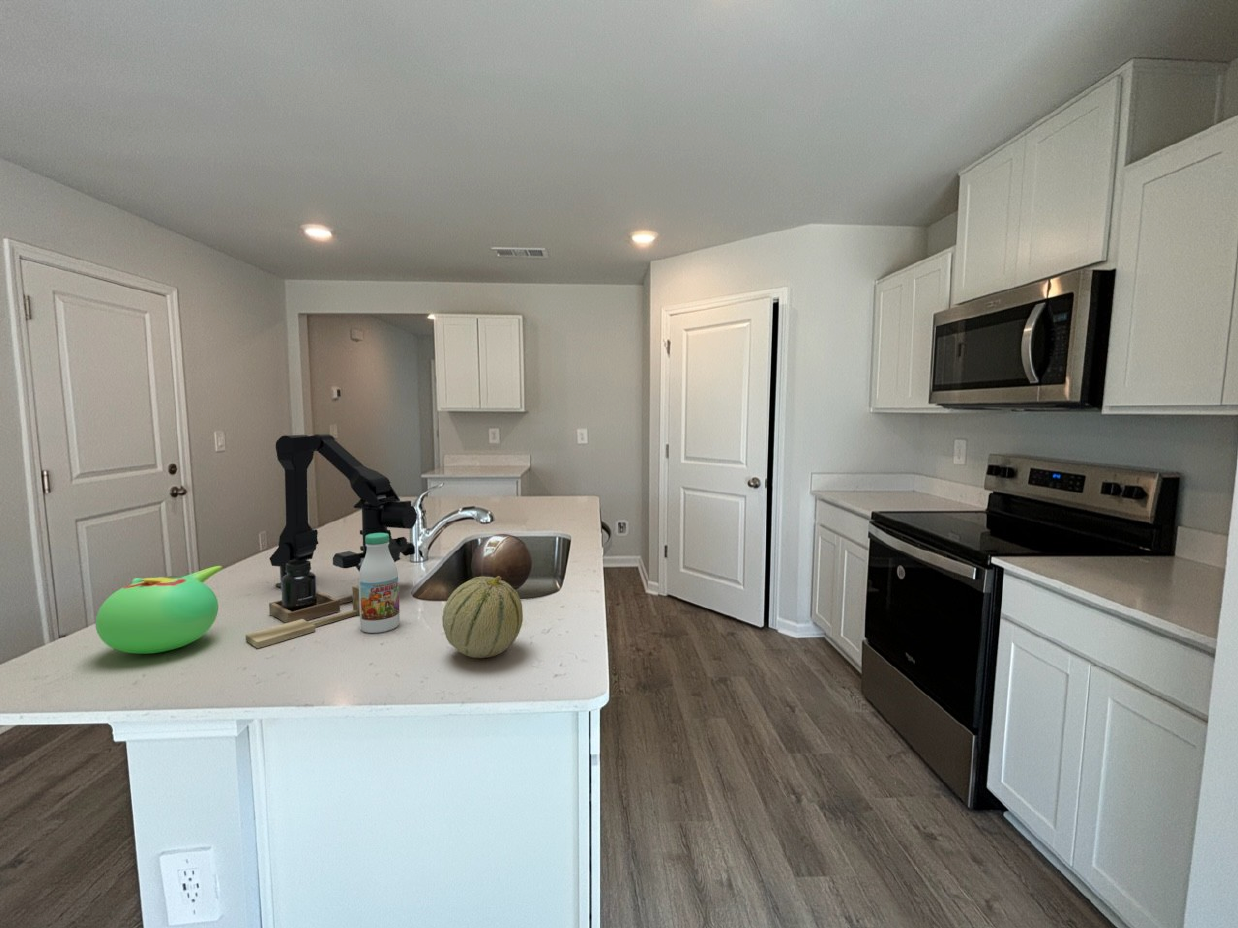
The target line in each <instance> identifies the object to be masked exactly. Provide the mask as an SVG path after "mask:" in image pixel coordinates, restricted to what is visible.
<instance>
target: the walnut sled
mask: <svg viewBox="0 0 1238 928" xmlns="http://www.w3.org/2000/svg"><path fill="white" fill-rule="evenodd" d="M350 602H353V594H352V595H349V596H346V597H342V598H338V599H337V598H335V597H332V596H330V595H329V594H326V593H324V592H321V591H319V590H318V591H317V605H316V606H312V607H308V608H304V609H300V610H296V611H293V612H291V611H289V610H287V609H285V608H283V607H282V599H281V600H277V601H272V602H268V608H269V615H271V616H272V617H275V618H276V619H278V620H280V621H282V622H283V623H284V624H285V623H289V622H293V621H296V620H300V619H304V620H306V621H309V620H313V619H317V618H320V617H324V616H327V615H330V614H335V613H337V612H341V605H342V604H346V603H350Z"/></svg>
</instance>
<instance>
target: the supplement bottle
mask: <svg viewBox="0 0 1238 928" xmlns="http://www.w3.org/2000/svg"><path fill="white" fill-rule="evenodd" d="M311 564H312V563H311V561H310V560H299V561H292V562H289V563H287V564H286V573H287V575H285V576H284V577H283V578H282V580H280V583H281V588H280V589H281V591H280V592H281V593H280V594H281V600H282V607H283V608H285V609H287V610H289V611H291V612H293V611H296V610H300V609H304V608H308V607H312V606H316V605H318V603H317V575H316V574H315V573H314V572H312V571H311V570H312V567H311Z"/></svg>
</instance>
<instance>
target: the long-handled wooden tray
mask: <svg viewBox="0 0 1238 928" xmlns="http://www.w3.org/2000/svg"><path fill="white" fill-rule="evenodd" d="M351 588H352V589H351V590H352V595H353V601H352V610H349V611H345V612H342V613H338V614H335V615H330V616H327V617H323V618H320V619H316V620H313V621H310V622H309V621H308V620H304V619H300V620H296V621H293V622H289V623H285V622H284V623H283V624H278V625H275V626H272V627H268V628H264V629H261V630H257V631H253V632H250V633H249V632H248V633H246V634H245V635H244V637H245V641H246V642H248V643H249V644H250V645H252V646H253V647H255V648H257V649H260V648H264V647H266V646H269V645H273V644H276V643H279V642H280V643H281V642H283V641H286V640H291V639H293V638H297V637H300V636H304V635H307V634H310V633H314V632H316V628H317V627H320V626H324V625H326V624H331V623H333V622H337V621H340V620H344V619H348V618H351V617H355V616H358V615H359V616H360V606H359V584H357V585H353V586H352V587H351Z"/></svg>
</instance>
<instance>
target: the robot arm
mask: <svg viewBox="0 0 1238 928" xmlns="http://www.w3.org/2000/svg"><path fill="white" fill-rule="evenodd" d="M275 451H276V457H277V461H278V462H279V464H280V466H281V467H282V468H283V470H284V483H285V484H284V492H285V493H284V494H285V495H284V497H285V526H284V528H283V530H281V533H280V535H279V539H278V540H279V541H278V548H277V549H276V550H275V551H274V552H273V553H272V554H271V556H270V557H269V562H270V565H271V566H272V567H279V574H280V575H279V577H280V581H281V580H282V578H283V577H284V576H285V575H287V573H286V564H287V563H289V562H292V561H299V560H308V561H310V560H313V556H314V554H315V551H316V549H317V547H318V546H317V545H319V540H318V535H319V533H318V529H313V528H312V527H311V525H310V523H309V504H308V503H309V502H308V500H309V499H308V497H309V496H308V493H309V492H308V468H309V466H310V464H312V461H313V460H314V453H315V452H317V453H319V454H320V455H321V456H322V457H323V458H324V459H325V460H327V461H328V462H329V463H330V464H331V465H332V466H333V467H334V468H336V469H337V470H338V471H339V472H340V474H342V475H343V476H345V478H347V480H348V481H349V484H350V488H351V490H352V491H353V493H354V494H356V496H357V497H358V498H359V501H358V502H357V503H356V504H354V505H353V508H354V509H361V528H362V529H359V535H361V536H362V545H361V546H359V549H360V551H361V552H354V551H351V550H346V551H342V552H337V553H336V552H335V553H334V555H333V557H332V565H333V566H335V567H338V568H341V569H350V568H354V567H355V568H356V569H357V570H358V573H359V572H360V568H361V565H362V563H363V561H364V558H365V555H366V552H367V546H365V545H366V543H365V537H366V535H369V534H373V533H387V534H389V545H388V549H389V552H390V554H391V557H392V558H393V560H394V562H395V563H396V562H398V561H400V560H401V557H400V556H401V555H403V556H404V557H407V556H412V555H414V554H416V546H415V544H414V543H413V542H409V541H408V539H407V537H405V536H400V537H397V538H392V534H391V533H392V532H391V530H390V529H391V528H392V529H393V528H394V529H408V530H410V529H412V528H413V527H414V526H415V524H416V523H417V521H418V513H417V511H416V508H415V507H414V506H413V505H412V501H411V500H401V499H400V498H399V496H398V494H397V493H396V491H395V489H393V487H392V485H391V481H390V479H389V478H388V477H386V476H385V475H383V474H382V473H381V472H379V471H377V470H375V469H371V468H369V467H367V466H365V465H364V464H363V463H362V462H360V461H359V460H358V459H357V458H356V457H355V456H354V455H352V453H350V452H349V451H348V450H347V449H346V448H345V447H343V445H341V444H340V443H339V442H338V441H337V440H336V439H335V436H333V435H331V434H329V433H318V434H314V435H307V434H289V435H288V434H286V435H281V436H280V437H279V438H278V439H277V440H276V442H275ZM388 528H390V529H388ZM275 587H278V588H280V589H281V582H277V583H275Z"/></svg>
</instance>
